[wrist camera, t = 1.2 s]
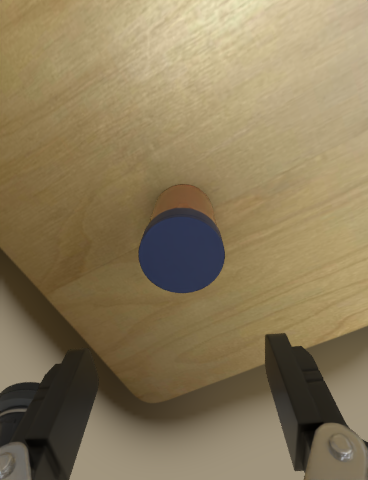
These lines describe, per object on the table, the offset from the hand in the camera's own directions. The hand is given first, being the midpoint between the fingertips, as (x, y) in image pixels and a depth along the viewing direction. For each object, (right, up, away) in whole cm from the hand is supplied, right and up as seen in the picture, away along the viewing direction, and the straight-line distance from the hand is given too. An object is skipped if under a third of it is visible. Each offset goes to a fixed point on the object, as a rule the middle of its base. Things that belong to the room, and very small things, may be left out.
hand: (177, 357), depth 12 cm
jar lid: (0, +4, +8) cm, 9 cm away
